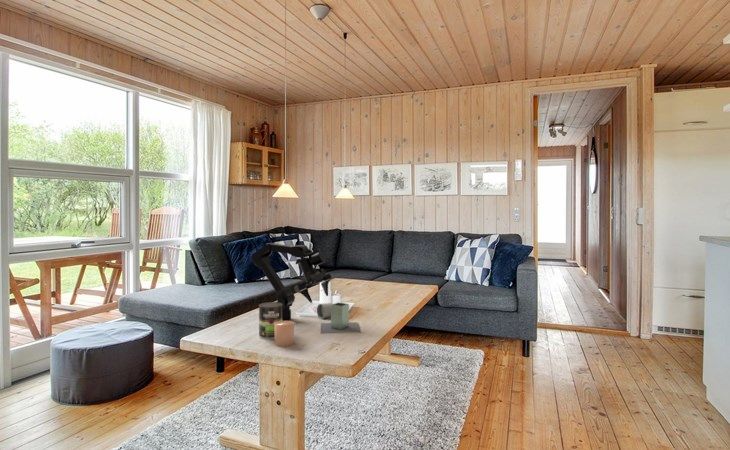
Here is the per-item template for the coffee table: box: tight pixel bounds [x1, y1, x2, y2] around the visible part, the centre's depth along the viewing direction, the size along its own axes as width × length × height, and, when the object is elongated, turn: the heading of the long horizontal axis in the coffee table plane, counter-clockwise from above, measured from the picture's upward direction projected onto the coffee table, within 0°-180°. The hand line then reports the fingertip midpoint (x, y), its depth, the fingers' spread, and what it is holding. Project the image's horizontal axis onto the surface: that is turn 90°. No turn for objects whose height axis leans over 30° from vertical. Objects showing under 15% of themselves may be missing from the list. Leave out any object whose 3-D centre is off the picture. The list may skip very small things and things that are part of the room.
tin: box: [330, 302, 350, 330], centre depth 191 cm, size 6×6×11 cm
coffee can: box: [258, 301, 283, 339], centre depth 180 cm, size 10×10×14 cm
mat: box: [320, 321, 361, 334], centre depth 191 cm, size 18×16×1 cm
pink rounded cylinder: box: [274, 320, 295, 348], centre depth 169 cm, size 8×8×9 cm
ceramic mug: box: [316, 302, 334, 320], centre depth 212 cm, size 11×8×8 cm
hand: (319, 299), depth 198 cm, fingers open, 9 cm apart
